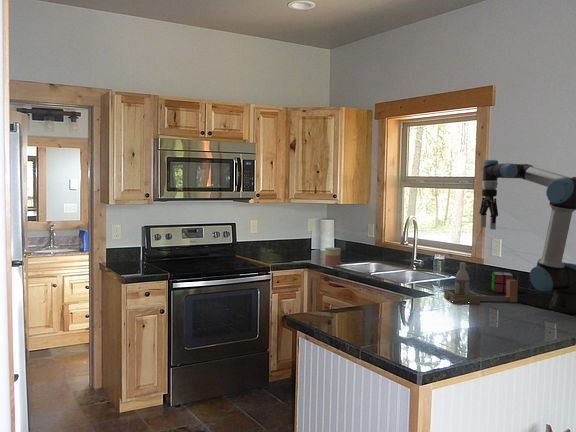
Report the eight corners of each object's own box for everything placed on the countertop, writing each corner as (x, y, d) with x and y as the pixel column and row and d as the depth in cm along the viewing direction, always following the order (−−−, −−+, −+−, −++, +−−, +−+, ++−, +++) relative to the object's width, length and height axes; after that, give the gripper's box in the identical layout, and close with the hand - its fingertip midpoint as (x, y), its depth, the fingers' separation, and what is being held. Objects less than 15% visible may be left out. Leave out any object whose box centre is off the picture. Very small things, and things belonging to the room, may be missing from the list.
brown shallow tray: (479, 304, 278) (480, 295, 277) (453, 304, 277) (453, 295, 277) (469, 298, 293) (469, 289, 293) (443, 297, 293) (444, 289, 293)
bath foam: (451, 300, 287) (453, 261, 286) (463, 299, 290) (464, 261, 288) (459, 302, 281) (460, 263, 280) (471, 302, 283) (472, 263, 282)
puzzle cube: (512, 293, 309) (513, 275, 308) (494, 292, 311) (494, 274, 310) (509, 289, 319) (510, 272, 318) (491, 288, 321) (492, 271, 320)
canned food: (343, 264, 403) (343, 248, 402) (335, 266, 393) (336, 249, 392) (329, 263, 409) (329, 247, 408) (321, 265, 399) (322, 248, 398)
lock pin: (517, 302, 284) (518, 281, 283) (475, 301, 283) (475, 280, 282) (513, 300, 288) (514, 279, 287) (472, 299, 288) (472, 278, 287)
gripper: (506, 189, 285) (504, 230, 286) (487, 188, 309) (486, 226, 311) (491, 189, 284) (489, 230, 286) (474, 188, 309) (472, 226, 311)
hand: (487, 228), depth 298 cm, fingers open, 13 cm apart
